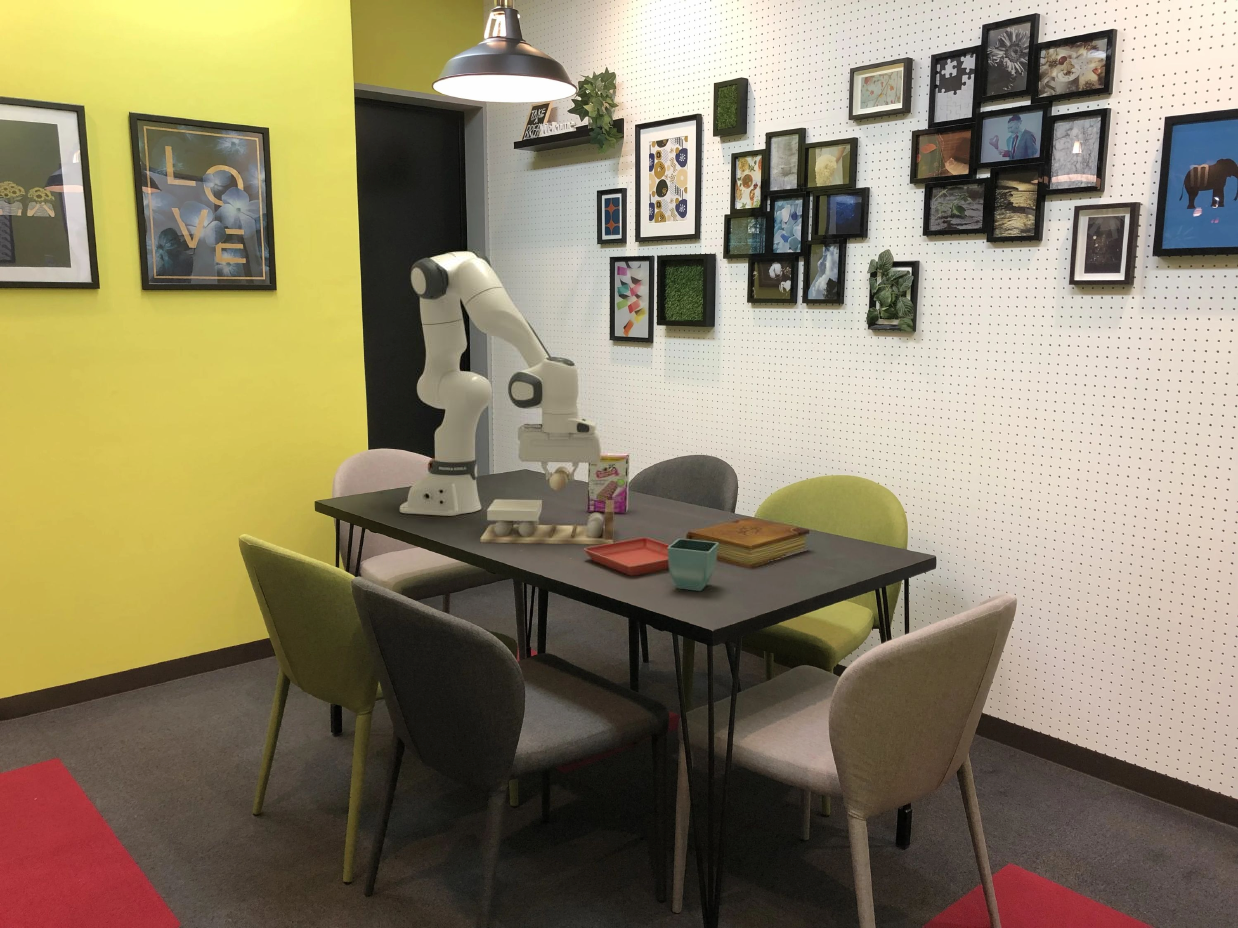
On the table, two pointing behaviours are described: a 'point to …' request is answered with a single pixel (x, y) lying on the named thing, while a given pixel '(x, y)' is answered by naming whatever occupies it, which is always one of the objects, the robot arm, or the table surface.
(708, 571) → the flower pot
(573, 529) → the roller bed
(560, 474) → the roller
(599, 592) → the table surface
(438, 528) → the table surface
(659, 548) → the plant saucer
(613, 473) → the candy bar box
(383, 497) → the table surface
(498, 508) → the slab
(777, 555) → the diary
